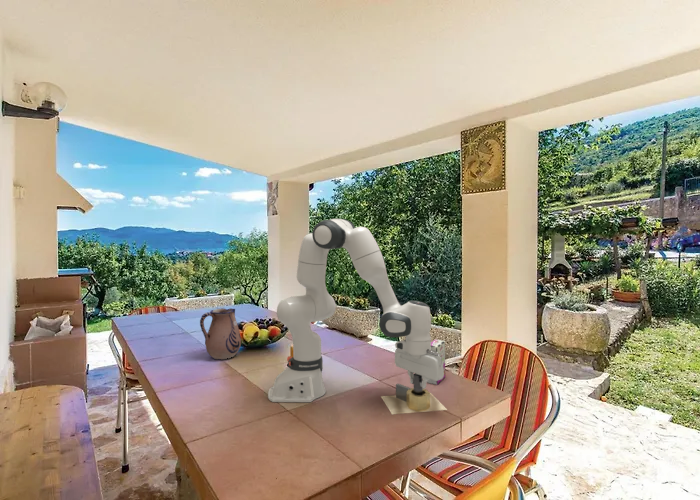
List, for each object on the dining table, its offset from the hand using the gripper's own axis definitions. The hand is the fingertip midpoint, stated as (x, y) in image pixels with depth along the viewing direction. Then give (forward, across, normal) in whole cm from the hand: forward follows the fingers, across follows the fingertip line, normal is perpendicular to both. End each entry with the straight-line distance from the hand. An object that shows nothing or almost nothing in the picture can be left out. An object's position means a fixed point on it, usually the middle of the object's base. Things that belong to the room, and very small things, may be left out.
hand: (418, 385), depth 130 cm
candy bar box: (+9, +15, -28) cm, 33 cm away
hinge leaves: (+7, +2, -1) cm, 8 cm away
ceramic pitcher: (+9, +104, +36) cm, 110 cm away
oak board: (+9, +3, 0) cm, 9 cm away
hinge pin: (+7, 0, 0) cm, 7 cm away
